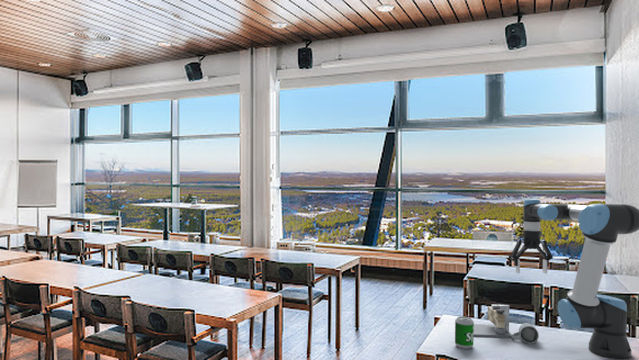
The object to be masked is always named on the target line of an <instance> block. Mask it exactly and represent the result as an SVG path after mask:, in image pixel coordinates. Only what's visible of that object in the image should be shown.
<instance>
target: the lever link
mask: <svg viewBox="0 0 639 360" xmlns="http://www.w3.org/2000/svg"><path fill="white" fill-rule="evenodd" d="M504 312H505V310H503V309H496V310H492V309H491V306H489V305H488V306H487V320H488V321H490V322H491V323H492V325H495V326H497V327H498V328H505V315H504V314H503V313H504Z"/></svg>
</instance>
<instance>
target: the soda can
mask: <svg viewBox="0 0 639 360" xmlns="http://www.w3.org/2000/svg"><path fill="white" fill-rule="evenodd" d="M454 321H455V322H454V324H455V325H454V344H455V345H456V347H457V348H460V349H462V350H471V349H472V348H473V347H474V324H475V322H474V320H473V319H472V318H471V317H468V316H458V317H457V318H456V319H454Z"/></svg>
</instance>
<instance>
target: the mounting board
mask: <svg viewBox="0 0 639 360" xmlns="http://www.w3.org/2000/svg"><path fill="white" fill-rule="evenodd" d="M512 334H513V333H511V332H510V331H509V332H505V328H498V327H497V326H495V325H494V324H486V323H485V324H483V323H481V324H479V323H478V324H477V323H474V337H477V338H478V337H482V338H483V337H484V338H511V339H512V337H511V336H512Z"/></svg>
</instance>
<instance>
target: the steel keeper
mask: <svg viewBox="0 0 639 360" xmlns="http://www.w3.org/2000/svg"><path fill="white" fill-rule="evenodd" d="M490 307H491V309H492V310H496V309H503V310H505V312H504V313H503V314H504V315H505V332H510V305H508V304H491V306H490Z"/></svg>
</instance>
